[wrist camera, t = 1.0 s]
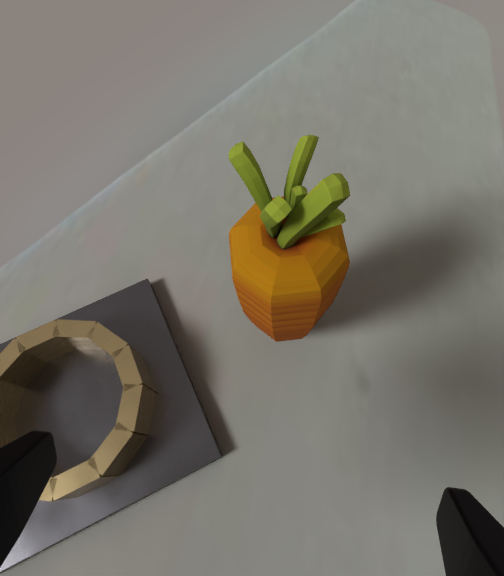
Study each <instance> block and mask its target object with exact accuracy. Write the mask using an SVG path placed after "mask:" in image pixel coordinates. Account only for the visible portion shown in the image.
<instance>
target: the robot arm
mask: <svg viewBox="0 0 504 576" xmlns="http://www.w3.org/2000/svg"><path fill="white" fill-rule="evenodd" d="M56 463H57V454H56V448H55V443H54V438H53V435H52V433H51V432H49V431H42V430H33V431H30V432H28V433H27V434H25V435H23V436H21V437H19V438H17V439H16V440H14V441H12V442H10V443H8V444H6V445H5V446H3V447H1V448H0V567H1V566H2V564H3V562H4V561H5V559H6V558H7V556H8V554H9V553H10V551H11V550H12V548H13V547H14V545H15V543H16V542H17V540H18V538H19V537H20V535H21V533H22V531H23V530H24V528H25V526H26V524H27V522H28V520H29V518H30V516H31V514H32V512H33V510H34V509H35V507H36V505H37V503H38V501H39V499H40V497H41V495H42V493H43V491H44V489H45V487H46V485H47V483H48V481H49V479H50V477H51V475H52V473H53V471H54V469H55V467H56ZM436 522H437V529H438V535H439V540H440V546H441V551H442V556H443V562H444V567H445V573H446V576H504V527H503V526H502V525H501V524H500V523H499V522H498V521H497V520H496V519H495V518H494V517H493V516H492V515H491V514H490V513H489V512H488V511H487V510H486V509H485V508H484V507H483V506H482V505H481V504H480V503H479V502H478V501H477V500H476V499H475V498H474V496H473V495H472V494H471V493H469V492H468V491H467V490H464V489H458V488H451V487H448V488H446V489H445V490H444V492H443V495H442V499H441V502H440V505H439V508H438V511H437V517H436Z"/></svg>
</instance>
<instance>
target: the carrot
mask: <svg viewBox="0 0 504 576" xmlns="http://www.w3.org/2000/svg"><path fill="white" fill-rule="evenodd" d="M318 138H319V137H317V136H314V135H307V136H303V137H301V138H300V139H299V142H298V144H297V146H296V148H295V151H294V154H293V157H292V159H291V163H290V167H289V171H288V174H287V179H286V184H285V188H284V197H280V196H279V195H278V196H277V197H276V198H272V197H271V194H270V192H269V189H268V187H267V184H266V182H265V179H264V177H263V174H262V172H261V169H260V167H259V165H258V163H257V161H256V160H255V158H254V156H253V154H252V153H251V151H250V150H249V148H248V147H247V146H246V145H245V143H244V142H240V143H238V144H236V145H235V146H234V147H233V148H232V149H230V151H229V160H230V161H231V163H232V165H233V166H234V168H235V170H236V171H237V172H238V174H239V175H240V177H241V178H242V180H243V181H244V183H245V184H246V186H247V188H248V190H249V191H250V193H251V195H252V196H253V198H254V200H255V202H256V203H255V204H254V205H253V206H252V207H251V208H250V209H249V210H248V212H247V213H246V214H245V215H244V216H243V217H242V218H241V219H240V220H239V221H238V222H237V223H236V224H235V225H234V226H233V227H232V228H231V230H230V232H229V242H230V254H231V265H232V277H233V282H234V286H235V289H236V292H237V295H238V299H239V301H240V304H241V306H242V309H243V311H244V313H245V314H246V315H247V317H248V318H249V319H250V320H251V321H252V322H253V323H254V324H255V325H256V326H257V327H258V328H259V329H261V330H262V331H263V332H264V333H266V334H267V335H268V336H270V337H271V338H272V339H274V340H275V341H276V342H277V341H286V340H295V339H302V338H303V337H304V336H306V335H307V334H308V333H309V332H310V330H311V329H312V328H313V327H314V326H315V324H316V323H317V322H318V320H319V319H320V318H321V317H322V315H323V314H324V313H325V312H326V310H327V309H328V308H329V306H330V305H331V304H332V303H333V301H334V299H335V297H336V295H337V293H338V291H339V289H340V287H341V285H342V282H343V280H344V278H345V275H346V273H347V270H348V268H349V263H350V261H349V256H348V252H347V247H346V243H345V239H344V234H343V230H342V226H341V224H342V223H344V222H345V221H346V220H345V215H344V213H343V212H341V211H340V210H339V209H336V208H337V207H338V206H339V205H340V204H341V203H343V202H344V201H345V200H346V199H347V198H348V197H349V196H350V192H349V186H348V182H347V181H346V179H345V178H344V177H343V175H342V174H341V173H335V174H332V175H330V176H328V177H326V178H324V179H323V180H322V181H321V182H320V183H319V184H318V185H317V186H315V187H314V188H313V189H312V190H311V191H310V192H309V193H308V194H307V189H306V188H305V187H303V186H301V185H302V182H303V179H304V176H305V174H306V171H307V168H308V166H309V163H310V160H311V158H312V155H313V153H314V150H315V148H316V144H317V141H318Z"/></svg>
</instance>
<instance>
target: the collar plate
mask: <svg viewBox="0 0 504 576" xmlns="http://www.w3.org/2000/svg"><path fill="white" fill-rule="evenodd" d="M33 430H42V431H49V432H51V433H52V435H53V438H54V443H55V448H56V454H57V463H56V467H55V469H54V471H53V473H52V475H51V477H50V479H49V481H48V483H47V485H46V487H45V489H44V491H43V493H42V495H41V497H40V499H39V501H38V503H37V505H36V507H35V509H34V510H33V512H32V514H31V516H30V518H29V520H28V522H27V524H26V526H25V528H24V530H23V531H22V533H21V535H20V537H19V538H18V540H17V542H16V543H15V545H14V547H13V548H12V550H11V551H10V553H9V554H8V556H7V558H6V559H5V561H4V562H3V564H2V566H1V567H0V573H2V572H3V571H5V570H7V569H9V568H11V567H13V566H15V565H17V564H19V563H21V562H23V561H24V560H26V559H28V558H30V557H32V556H34V555H36V554H38V553H40V552H42V551H44V550H45V549H47V548H49V547H51V546H53V545H55V544H57V543H59V542H61V541H63V540H65V539H66V538H68V537H70V536H72V535H74V534H76V533H78V532H80V531H82V530H84V529H86V528H87V527H89V526H91V525H93V524H95V523H97V522H99V521H101V520H103V519H105V518H107V517H108V516H110V515H112V514H114V513H116V512H118V511H120V510H122V509H124V508H126V507H127V506H129V505H131V504H133V503H135V502H137V501H139V500H141V499H143V498H145V497H147V496H148V495H150V494H152V493H154V492H156V491H158V490H160V489H162V488H164V487H166V486H168V485H169V484H171V483H173V482H175V481H177V480H179V479H181V478H183V477H185V476H187V475H189V474H190V473H192V472H194V471H196V470H198V469H200V468H202V467H204V466H206V465H208V464H210V463H211V462H213V461H215V460H217V459H219V458H221V457H223V456H222V454H221V451H220V449H219V446H218V444H217V442H216V439H215V437H214V434H213V432H212V430H211V427H210V425H209V422H208V420H207V418H206V415H205V413H204V410H203V408H202V406H201V403H200V401H199V398H198V396H197V393H196V391H195V389H194V386H193V384H192V381H191V379H190V377H189V374H188V372H187V369H186V367H185V365H184V362H183V360H182V357H181V355H180V353H179V350H178V348H177V345H176V343H175V341H174V338H173V336H172V333H171V331H170V329H169V326H168V324H167V321H166V319H165V317H164V314H163V312H162V309H161V307H160V304H159V302H158V300H157V297H156V295H155V292H154V290H153V288H152V285H151V283H150V282H149V280H148V279H145V280H143V281H141V282H139V283H136V284H134V285H132V286H130V287H127V288H125V289H123V290H121V291H118V292H116V293H114V294H112V295H110V296H107V297H105V298H103V299H101V300H98V301H96V302H94V303H92V304H89V305H87V306H85V307H83V308H80V309H78V310H76V311H74V312H71V313H69V314H67V315H65V316H63V317H60V318H58V319H56V320H53V321H51V322H49V323H47V324H45V325H42V326H40V327H38V328H36V329H33V330H31V331H29V332H27V333H24V334H22V335H20V336H18V337H15V338H13V339H11V340H9V341H7V342H4V343H2V344H0V448H1V447H3V446H5V445H6V444H8V443H10V442H12V441H14V440H16V439H17V438H19V437H21V436H23V435H25V434H27V433H28V432H30V431H33Z"/></svg>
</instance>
